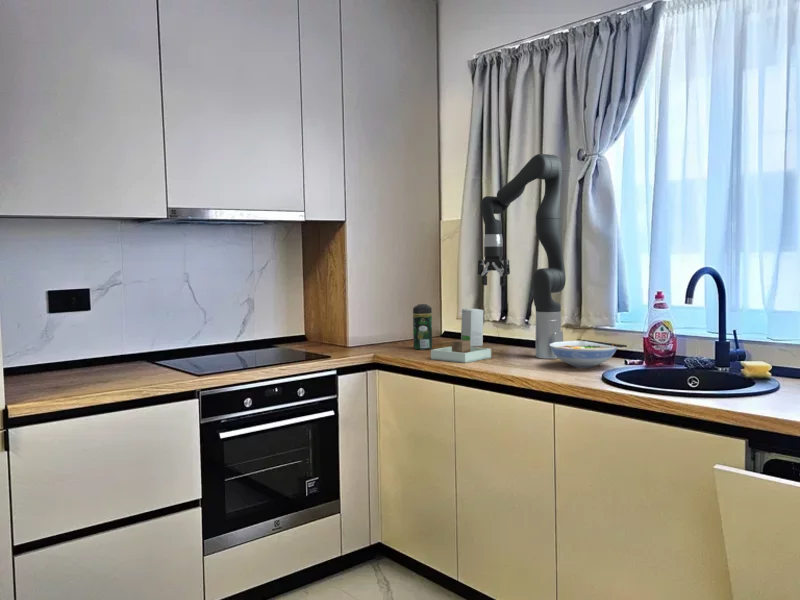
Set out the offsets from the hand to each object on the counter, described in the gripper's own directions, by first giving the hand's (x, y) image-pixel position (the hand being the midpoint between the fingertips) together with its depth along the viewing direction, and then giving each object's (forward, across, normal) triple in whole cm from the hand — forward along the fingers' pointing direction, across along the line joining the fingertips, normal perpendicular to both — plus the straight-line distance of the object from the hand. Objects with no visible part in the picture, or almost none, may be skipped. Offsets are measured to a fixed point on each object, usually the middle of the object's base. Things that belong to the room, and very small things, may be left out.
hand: (493, 285), depth 281 cm
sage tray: (+26, -6, +30) cm, 40 cm away
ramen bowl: (+26, -50, +19) cm, 60 cm away
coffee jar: (+26, +24, +17) cm, 39 cm away
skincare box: (+26, +14, -4) cm, 30 cm away
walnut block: (+26, -6, +30) cm, 40 cm away
